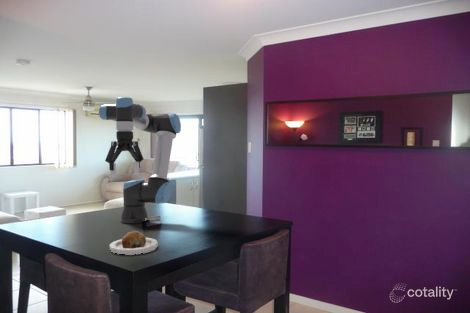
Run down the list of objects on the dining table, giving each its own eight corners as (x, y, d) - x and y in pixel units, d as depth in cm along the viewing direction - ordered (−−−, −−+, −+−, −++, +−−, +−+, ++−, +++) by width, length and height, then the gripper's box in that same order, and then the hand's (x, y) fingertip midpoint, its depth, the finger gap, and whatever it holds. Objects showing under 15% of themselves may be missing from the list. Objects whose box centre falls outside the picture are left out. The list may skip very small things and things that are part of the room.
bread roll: (147, 252, 158) (148, 233, 161) (142, 248, 149) (144, 228, 152) (123, 252, 158) (125, 233, 161) (118, 248, 148) (120, 228, 151)
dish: (136, 239, 168) (136, 235, 168) (166, 246, 157) (166, 241, 157) (100, 249, 152) (100, 245, 152) (131, 257, 141) (131, 252, 141)
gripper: (139, 131, 183) (140, 173, 184) (96, 130, 162) (97, 178, 163) (150, 131, 178) (150, 174, 179) (107, 130, 158) (108, 179, 159)
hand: (125, 176), depth 171 cm, fingers open, 13 cm apart
